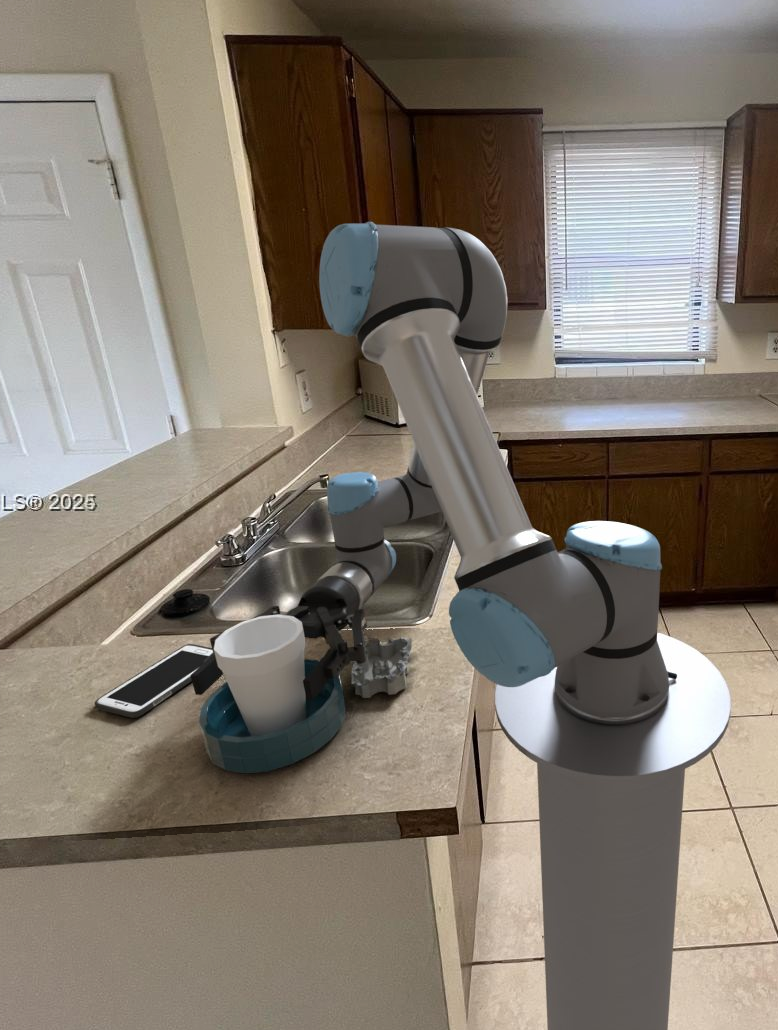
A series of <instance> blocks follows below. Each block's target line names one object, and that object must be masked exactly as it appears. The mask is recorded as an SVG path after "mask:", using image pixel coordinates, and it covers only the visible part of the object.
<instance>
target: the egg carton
mask: <svg viewBox="0 0 778 1030" xmlns="http://www.w3.org/2000/svg"><path fill="white" fill-rule="evenodd" d="M363 636H364V645H365V654H366V661H365V662H364V663H362V664H358V663H356V661H353V665H352V668H351V685H354V687H355V695H358V696H360V697H361V698H362V699H371V698H372V696H373V695H375V694H377V693H382V692H384V693H386V694H387V695H396V694H397V693H398V692H400V691H402V690H406V689H407V686H408V685H407V677H406V675H408V674H409V671H410V670H409V661H410V660H411V650H412V643H413V641H412V640H413V639H412V637H409V636H408V637H403V636H400V637H399V638H393V637H389V638H388V641H385V642H381V640H380V638H379V637H377V636H366V634H364V633H363Z"/></svg>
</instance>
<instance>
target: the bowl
mask: <svg viewBox="0 0 778 1030" xmlns="http://www.w3.org/2000/svg"><path fill="white" fill-rule="evenodd" d="M319 661H320V660H317V659H316V660H315V659H308V658H307V659H306V658H304V667H305V678H306V676H307V675H308V674H309V673H310V672H311V670H312V669H313V668H314V667H315V666H316V664H317V663H318V662H319ZM340 675H341V674H339V675H338V676H337V677H335V678H334V679H331V678H330V679H329V681H328V682H327V683H326V684H325V686H324V687H323V688H322V690H321V691H320V692H319V694H318V695H317V696H316V697H315V699H314V700H313V701H307V700H306V719H305V720H303V721H301V722H299V723H297V724H295V725H293V726H291V727H289V728H286V729H284V730H280V731H277V732H273V733H270V734H266V735H262V736H251V733H250V732H249V730H248V728H247V726H246V724H245V721H244V719H243V717H242V715H241V712H240V710H239V708H238V706H237V703H236V701H235V699H234V697H233V694H232V692H231V690H230V688H229V685H228V683H227V681H226V682H224V683H223V684H222V685H220V686H219V687H218V688H217V689H216V690H215V691H214V692H212V693H211V694H210V695H209V696H208V698H207V699H206V700H205V702H204V704H203V705H202V707H201V708H200V710H199V716H198V717H199V719H198V726H199V728H200V731H201V736H202V740H203V743H204V747H205V751H206V753H207V755H208V757H209V759H210V761H211V762H212V764H214V765H215V766H217V767H219V768H220V769H223V770H224V771H227V772H233V773H240V774H253V773H254V774H255V773H263V772H270V771H273V770H277V769H280V768H281V769H282V768H284V767H287V766H290V765H292V764H294V763H297V762H299V761H301V760H304V759H305V758H307V757H308V756H310V755H313V754H315V753H316V752H317V751H319V750H320V749H321V748H323V747H324V746H325V745H327V743H328V742H330V741H331V740H332V739H333V738H334V737H335V735H336V734H337V733H338V732H339V730H340V729H341V727H342V726H343V724H344V721H345V718H346V714H347V710H346V709H347V708H346V703H345V698H344V693H343V685H342V680H341V676H340ZM305 699H306V695H305Z"/></svg>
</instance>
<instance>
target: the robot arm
mask: <svg viewBox="0 0 778 1030" xmlns="http://www.w3.org/2000/svg"><path fill="white" fill-rule="evenodd" d="M318 277H319V278H318V279H319V280H318V281H319V282H318V283H319V295H320V301H321V306H322V307H321V308H322V310H323V314H324V317H325V319H326V322H327V324H328V326H329V327H330V328H331V330H333V332H335V334H339V335H341V336H345V337H352V336H354V337H355V338H356V340H357V343H358V345H359V347H360V349H361V352H362V354H363V356H364V358H365V359H366V360H368V361H370V362H372V363H375V364H377V365H380V366H382V367H383V371H384V373H385V375H386V378H387V380H388V382H389V385H390V387H391V390H392V392H393V394H394V397H395V400H396V403H397V405H398V408H399V409H400V411H401V414H402V417H403V419H404V421H405V424H406V426H407V430H408V431H409V434H410V436H411V439H412V441H413V444H412V449H411V453H410V458H409V462H408V467H407V470H406V473H405V474H404V475H403V474H402V475H400V476H396V477H392V478H387V479H384V480H379V481H378V479H377V478H376V476H375V475H374V474H372V473H371V472H365V471H355V472H346V473H342V474H338V475H336V476H333V478H330V480H329V481H328V482H327V484H326V501H327V511H328V515H329V518H330V525H331V530H332V535H333V540H334V548H335V555H336V562H335V563H334V564H333V565H332V566H331V567H330V568H329V569H328V570H326V571H325V572H324V573H323V574H322V575H321V576H320V577H319V578H318V579H317V580H316V581H315V582H314V583H313V584H312V585H311V586H310V587H308V589H307V590H305V591H304V592H303V594H302V595H301V597H300V599H299V602H298V604H297V606H296V607H294V608H291V609H290V610H288V611H281V609H280V606H279V605H273V606H270V607H269V608H268V609H266V610H265V611H264V612H262V613H260V614H258V615H256V616H254V617H251V619H253V618H257V617H260V616H269V615H278V614H279V615H287V616H293V617H295V618H296V619H298V620H300V621H301V622H302V626H303V631H304V636H305V639H311V640H317V639H318V638H323V640H324V642H325V643H326V645H328V646H329V648H328V650H327V651H326V652H325V653H324V655H323V656H322V657H321V658H320V659H319V660H318V661H319V662H318V663H317V664H316V666H315V667H314V668H313V669H312V670H311V672H310V673H309V674H308V675H307V676H306V678H305V679H304V680H303V684H304V689H305V695H306V700H307V701H313V700H314V699H315V697H316V696H317V695H318V694H319V692H320V691H321V690H322V688H323V687H324V686H325V684H326V683H327V682H328V681H329V679H330V678H331V679H334V678H335V677H337V676H338V675H340V673H341V672H342V671H343V670H344V668H345V667H346V666H349V665H350V664H351V662H355V661H356V663H358V664H362V663H364V662H365V661H366V654H365V645H364V636H363V634H364V632H365V630H366V629H367V627H368V624H367V623H368V622H367V617H366V609H363V607H364V605H365V604H366V603H367V602H368V601H369V599H370V598H371V597H372V596H373V595H374V593H376V591H377V590H378V589H379V588H380V587H381V586H382V584H384V583H385V582H386V581H387V580H388V579H389V577H390V575H391V573H392V572H393V570H394V568H395V566H396V563H397V552H396V550H395V549H394V547H393V546H392V544H391V543H390V542H389V541H388V540H386V539H385V532H384V531H385V529H387V528H390V527H392V526H397V525H399V524H402V523H406V522H409V521H412V520H417V519H420V518H423V517H427V516H431V515H435V514H439V513H442V515H443V517H444V520H445V522H446V525H447V527H448V529H449V532H450V534H451V537H452V539H453V542H454V544H455V546H456V549H457V552H458V554H459V557H460V559H459V563H458V567H457V568H456V572H455V574H454V576H453V579H454V581H455V584H456V587H457V588H458V591H457V593H456V594H455V595H454V596H453V597H452V599H451V601H450V603H449V605H448V606H449V607H448V616H449V618H450V619H449V624H450V629H451V632H452V635H453V637H454V640H455V642H456V644H457V645H458V647H459V649H460V651H461V652H462V653H463V655H464V658H466V660H467V661H468V662H469V663H470V665H471V666H472V667H473V668H474V669H475V670H476V672H477V673H479V674H480V675H482V676H483V677H485V678H486V679H487V680H488V681H489V682H491V683H493V684H498V685H500V686H504V687H519V686H522V685H524V684H526V683H528V682H530V681H532V680H534V679H536V678H538V677H542V676H546V675H548V674H549V673H551V671H552V670H553V669H554V668H556V667H557V670H556V675H555V693H556V697H557V699H558V701H559V703H560V704H561V705H562V707H563V708H564V709H565V710H567V711H568V712H569V713H570V714H572V715H574V716H575V717H577V718H579V719H581V720H584V721H586V722H590V723H593V724H598V725H605V726H623V725H630V724H635V723H638V722H641V721H644V720H646V719H649V718H650V717H652V716H654V715H655V714H657V713H658V712H659V711H660V710H661V709H662V708H663V707H664V705H665V704H666V702H667V699H668V695H669V678H672V679H677V674H675V673H672V672H669V671H667V669H666V666H665V663H664V660H663V657H662V653H661V650H660V647H659V644H658V641H657V633H658V629H659V628H658V627H659V609H660V608H659V606H660V587H661V586H660V585H661V570H662V569H663V566H662V565H663V564H662V562H661V546H660V542H659V541H658V539H657V538H656V536H655V535H654V534H652V533H651V532H650V531H648V530H646V529H644V528H641V527H638V526H637V525H633V524H629V523H628V524H627V523H623V522H618V521H609V520H608V521H607V520H590V521H583V522H579V523H575V524H573V525H571V526H570V527H569V528H568V529H567V531H566V535H565V537H564V543H565V548H564V549H562V550H561V551H558V549H557V548H556V544H555V543H554V540H553V539H552V537H551V536H550V535H548V534H545V533H543V532H540V531H538V530H536V529H535V528H534V527H533V525H532V523H531V521H530V519H529V516H528V514H527V511H526V509H525V507H524V505H523V502H522V500H521V497H520V495H519V492H518V490H517V488H516V485H515V483H514V481H513V477H512V476H511V474H510V471H509V469H508V467H507V464H506V462H505V459H504V457H503V454H502V452H501V450H500V447H499V445H498V442H497V440H496V438H495V435H494V433H493V430H492V427H491V426H490V423H489V421H488V418H487V416H486V414H485V411H484V408H483V406H482V404H481V402H480V400H479V397H478V393H479V391H480V387H481V384H482V380H483V377H484V373H485V370H486V367H487V363H488V360H489V356H490V352H491V351H494V350H496V349H498V347H499V346H500V345H501V342H502V338H503V335H504V332H505V327H506V324H507V319H508V318H507V316H508V291H507V286H506V281H505V279H504V275H503V272H502V269H501V267H500V265H499V263H498V261H497V259H496V257H495V256H494V255H493V253H492V251H491V250H490V249H489V248H488V247H487V246H486V245H485V244H484V243H483V242H482V241H481V240H480V239H479V238H477V237H476V236H474V235H473V234H471V233H469V232H468V231H465V230H462V229H458V228H455V227H444V226H443V227H442V226H441V227H433V226H430V227H429V226H415V225H414V226H412V225H394V224H393V225H392V224H391V225H390V224H376V223H374V222H373V221H366V222H365V223H342V224H339V225H337V226H336V227H334V228H333V229H332V230H331V231H330V232H329V233H328V235H327V237H326V239H325V241H324V243H323V247H322V250H321V255H320V262H319V275H318ZM347 626H348V628H349V629H351V632H352V644H353V646H349V645H348V641H347V640H345V639H344V637H343V636H342V635H341V632H340V631H342V630H344V629H345V628H346V627H347ZM223 632H224V631H222V632H220V633H218V634H216V635H213V636H212V637H211V638H209V641H210V646H211V648H212V650H213V653H212V654H211V655H210V656H208V657H207V658H206V659H205V660H204V662H203V665H201V666H200V667H199V668H198V669H197V670H196V671H195V672H194V673H192V674H191V675H190V676H191V680H192V681H191V683H192V687H193V690H194V694H195V696H203V694H205V693H206V692H207V691H208V690H209V689H210V688H211V687H212V686H213V685H214V684H215V683H216V682H217V681H219V679H220V678H221V677H222V676H224V674H223V672H222V670H221V669H220V668H219V667H218V664H217V660H216V656H215V652H214V645H215V640H216V639H217V638H218V637H219V636H220V635H221V634H222V633H223ZM668 677H669V678H668Z"/></svg>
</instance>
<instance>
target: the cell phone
mask: <svg viewBox="0 0 778 1030" xmlns="http://www.w3.org/2000/svg"><path fill="white" fill-rule="evenodd" d="M212 653H213V650H212V647H210V646H209V647H208V646H203V645H199V644H193V643H188V644H185V645H183V646H181V647H179V648H177V649H176V650H174V651H172V652H171V653H170V654H168V655H166V656H165V657H163V658H161V659H160V660H158V661H156V662H155V663H153V664H151V665H150V666H148V667H147V668H145V669H144V670H142V671H140V672H138V673H137V674H136V675H134V676H132V677H131V678H128V680H127V679H126V681H123V682H122V683H120V684H119V685H117V686H115V687H114V688H112V689H111V690H110V691H107V692H106V693H105V694H103V695H101V696H100V697H98V698H97V699H96V700H95V701H94V706H95V708H96V709H97V710H100V711H103V712H108V713H111V714H115V715H119V716H123V717H126V718H131V719H135V718H139V717H141V716H143V715H144V714H146V713H147V712H149V711H150V710H152V709H153V708H155V707H156V706H157V705H158V704H160V703H161V702H163V701H165V700H166V699H167V698H169V697H170V696H172V695H174V694H175V693H176V692H179V691H180V690H181V689H182V688H185V686H187V685H188V684H190V683H192V680H191V676H190V675H191V674H192V673H194V672H195V671H196V670H197V669H198V668H199V667H200V666H201V665H203V662H204V660H205V659H206V658H207V657H208V656H210V655H211V654H212Z"/></svg>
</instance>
